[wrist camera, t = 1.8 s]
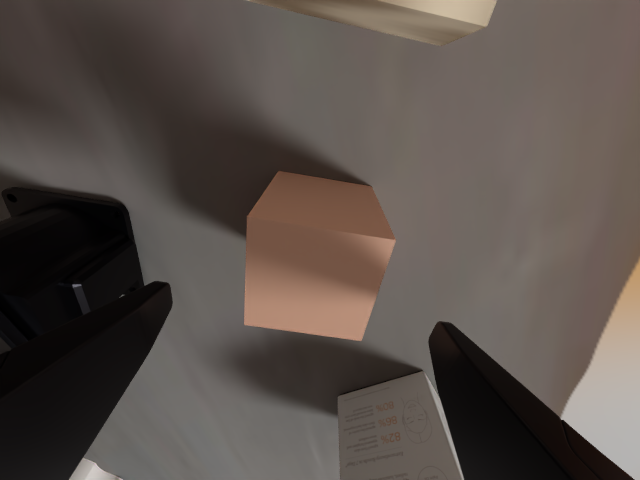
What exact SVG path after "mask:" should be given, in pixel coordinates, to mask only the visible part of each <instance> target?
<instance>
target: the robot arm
mask: <svg viewBox="0 0 640 480" xmlns="http://www.w3.org/2000/svg"><path fill="white" fill-rule="evenodd" d="M2 197H3V199H4V201H5V204H6V206H7V208H8V210H9V212H10V215H11V218H8V219H6V220H3V221H0V480H69V479H70V477H71V476H72V474H73V473H74V471H75V469H76V468H77V466H78V465H79V463H80V462H81V460H82V458H83V457H84V455H85V454H86V452H87V450H88V449H89V447H90V446H91V444H92V443H93V441H94V439H95V438H96V436H97V435H98V433H99V431H100V430H101V428H102V427H103V425H104V424H105V422H106V420H107V419H108V417H109V416H110V414H111V413H112V411H113V409H114V408H115V406H116V405H117V403H118V401H119V400H120V398H121V397H122V395H123V394H124V392H125V390H126V389H127V387H128V386H129V384H130V383H131V381H132V379H133V378H134V376H135V375H136V373H137V371H138V370H139V368H140V367H141V365H142V364H143V362H144V360H145V359H146V357H147V355H148V354H149V352H150V350H151V348H152V346H153V345H154V342H155V340H156V338H157V336H158V334H159V332H160V330H161V328H162V326H163V324H164V322H165V320H166V318H167V316H168V314H169V312H170V310H171V308H172V303H173V301H172V294H171V287H170V284H169V283H167V282H161V281H154V282H152V283H150V284H148V285H145V286H144V282H143V278H142V272H141V267H140V262H139V258H138V253H137V248H136V244H135V240H134V235H133V230H132V226H131V221H130V216H129V212H128V210H127V208H126V207H125V206H123V205H122V204H119V203H113V202H107V201H101V200H94V199H88V198H82V197H75V196H69V195H62V194H56V193H50V192H43V191H37V190H31V189H24V188H18V187H12V188H8V189H5V190H3V191H2ZM116 211H117V212H118V213H119V215H118V214H117V213H116ZM122 294H124V296H122V297H120V296H121V295H122ZM119 297H120V298H119ZM429 349H430V354H431V359H432V365H433V370H434V375H435V380H436V385H437V390H438V393H439V397H440V400H441V404H442V407H443V410H444V414H445V417H446V420H447V424H448V427H449V431H450V434H451V437H452V441H453V444H454V447H455V451H456V454H457V458H458V461H459V464H460V468H461V471H462V474H463V478H464V480H634V479H633V478H632V477H631V476H629V475H628V474H627V473H626V472H624V471H623V470H622V469H621V468H619V467H618V466H617V465H616V464H615V463H613V462H612V461H611V460H610V459H608V458H607V457H606V456H605V455H603V454H602V453H601V452H600V451H599V450H597V449H596V448H595V447H594V446H593V445H592V444H590V443H589V442H588V441H587V440H585V439H584V438H583V437H582V436H581V435H580V434H579V433H577V432H576V431H575V430H574V429H573V428H572V427H570V426H569V425H568V424H567V423H566V422H565V421H564V420H561V419H560V417H559V416H558V415H557V414H556V413H554V412H553V411H552V410H551V409H550V408H549V407H547V406H546V405H545V404H544V403H543V402H542V401H541V400H539V399H538V398H537V397H536V396H535V395H534V394H533V393H531V392H530V391H529V390H528V389H527V388H526V387H524V386H523V385H522V384H521V383H520V382H519V381H518V380H516V379H515V378H514V377H513V376H512V375H511V374H509V373H508V372H507V371H506V370H505V369H504V368H503V367H501V366H500V365H499V364H498V363H497V362H496V361H494V360H493V359H492V358H491V357H490V356H489V355H488V354H486V353H485V352H484V351H483V350H482V349H481V348H479V347H478V346H477V345H476V344H475V343H474V342H473V341H471V340H470V339H469V338H468V337H467V336H466V335H465V334H463V333H462V332H461V331H460V330H459V329H458V328H456V327H455V326H454V325H453V324H452V323H449V322H442V321H439V322H437V324H436V325H435V327H434V329H433V331H432V333H431V335H430V337H429Z"/></svg>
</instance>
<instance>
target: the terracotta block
mask: <svg viewBox="0 0 640 480" xmlns="http://www.w3.org/2000/svg"><path fill="white" fill-rule="evenodd" d="M395 242H396V239H395V237H394V235H393V233H392V230H391V228H390V226H389V224H388V222H387V219H386V217H385V215H384V213H383V210H382V208H381V206H380V204H379V202H378V199H377V197H376V195H375V193H374V191H373V188H372V186H366V185H360V184H354V183H348V182H343V181H337V180H331V179H325V178H319V177H313V176H307V175H301V174H295V173H289V172H283V171H278V172H277V174H276V175H275V177H274V178H273V180H272V181H271V182H270V184H269V185H268V187H267V188H266V190H265V191H264V193H263V194H262V196H261V197H260V198H259V200H258V201H257V203H256V204H255V206H254V207H253V209H252V210H251V211H250V213H249V214H248V216H247V235H246V274H245V313H244V325H250V326H257V327H264V328H271V329H278V330H285V331H293V332H300V333H307V334H314V335H321V336H328V337H336V338H343V339H350V340H357V341H361V340H362V337H363V335H364V332H365V329H366V326H367V323H368V320H369V317H370V314H371V311H372V308H373V305H374V303H375V300H376V297H377V294H378V291H379V288H380V285H381V282H382V279H383V276H384V273H385V271H386V268H387V265H388V262H389V259H390V256H391V253H392V250H393V247H394V244H395Z"/></svg>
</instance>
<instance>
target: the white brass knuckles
mask: <svg viewBox="0 0 640 480" xmlns="http://www.w3.org/2000/svg"><path fill="white" fill-rule="evenodd" d="M69 480H122V479H121V478H119V477H117V476H115V475H112V474H109V473H107V472H105V471H103V470H102V469H100V468H99V467H98V466H97V465H96V463H95V462H92V461H90V460H87V459H84V458H82V460H81V462H80V463H79V465H78V466H77V468H76V469H75V471H74V473H73V474H72V476H71V477H70V479H69Z"/></svg>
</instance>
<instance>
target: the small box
mask: <svg viewBox="0 0 640 480" xmlns="http://www.w3.org/2000/svg"><path fill="white" fill-rule="evenodd" d="M338 428H339V457H340V480H464V478H463V474H462V471H461V468H460V464H459V461H458V458H457V454H456V451H455V447H454V444H453V441H452V437H451V434H450V431H449V427H448V424H447V420H446V417H445V414H444V410H443V407H442V404H441V400H440V398H439V397H438V395H437V393H436V391H435V390H434V388H433V386H432V384H431V382H430V381H429V379H428V377H427V376H426V374H425V372H423V371H421V372H418V373H414V374H411V375H407V376H404V377H401V378H397V379H394V380H390V381H387V382H384V383H380V384H377V385H374V386H370V387H367V388H363V389H360V390H357V391H353V392H350V393H347V394H344V395H340V396H338Z"/></svg>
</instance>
